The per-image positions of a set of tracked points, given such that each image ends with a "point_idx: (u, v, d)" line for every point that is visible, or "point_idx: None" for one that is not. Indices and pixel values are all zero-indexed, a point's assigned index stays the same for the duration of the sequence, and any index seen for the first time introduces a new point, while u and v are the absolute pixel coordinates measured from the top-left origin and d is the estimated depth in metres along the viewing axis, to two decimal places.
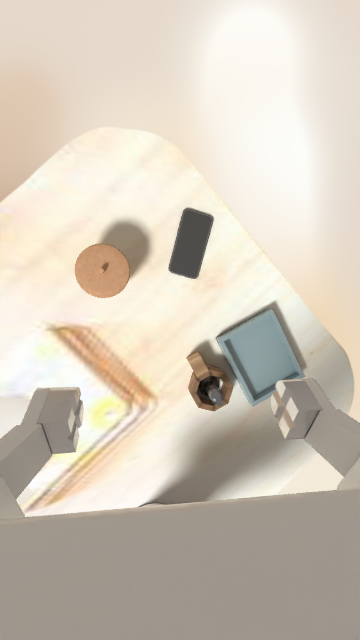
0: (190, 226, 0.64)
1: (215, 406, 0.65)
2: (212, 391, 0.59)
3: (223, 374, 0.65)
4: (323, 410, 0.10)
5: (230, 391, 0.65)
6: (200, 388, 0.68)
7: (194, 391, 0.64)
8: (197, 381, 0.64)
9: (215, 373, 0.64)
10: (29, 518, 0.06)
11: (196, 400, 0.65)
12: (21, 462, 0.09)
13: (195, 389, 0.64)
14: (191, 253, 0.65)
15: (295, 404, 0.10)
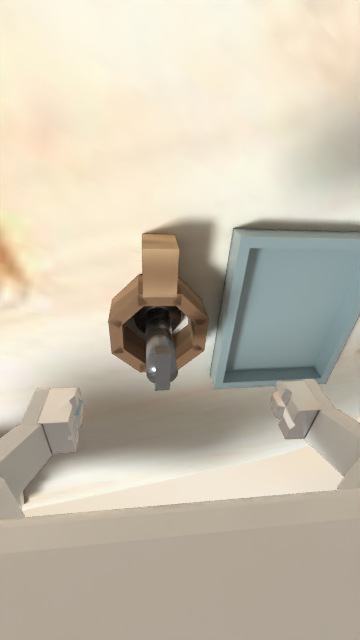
0: None
1: None
2: (160, 356, 0.21)
3: (202, 318, 0.27)
4: (323, 410, 0.10)
5: (194, 354, 0.29)
6: (137, 314, 0.29)
7: (119, 320, 0.26)
8: (137, 304, 0.25)
9: (187, 308, 0.26)
10: (29, 518, 0.06)
11: (114, 339, 0.27)
12: (21, 462, 0.09)
13: (124, 317, 0.26)
14: None
15: (295, 404, 0.10)
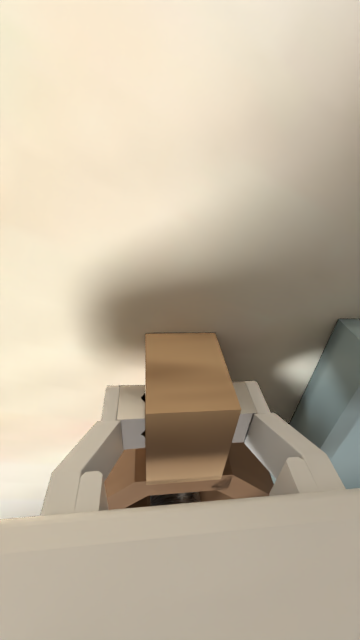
0: None
1: None
2: None
3: None
4: (257, 413, 0.10)
5: None
6: None
7: None
8: (134, 494, 0.11)
9: (240, 491, 0.12)
10: (29, 518, 0.06)
11: None
12: (104, 457, 0.09)
13: None
14: None
15: None
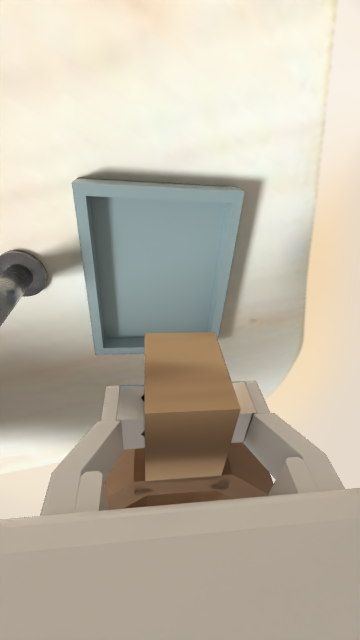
0: None
1: None
2: None
3: None
4: (257, 413, 0.10)
5: None
6: None
7: None
8: (133, 494, 0.11)
9: (240, 491, 0.12)
10: (29, 518, 0.06)
11: None
12: (104, 457, 0.09)
13: None
14: None
15: None
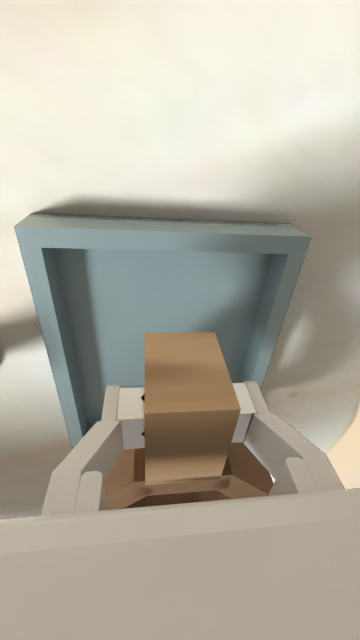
0: None
1: None
2: None
3: None
4: (257, 413, 0.10)
5: None
6: None
7: None
8: (133, 494, 0.11)
9: (240, 492, 0.12)
10: (28, 518, 0.06)
11: None
12: (104, 457, 0.09)
13: None
14: None
15: None
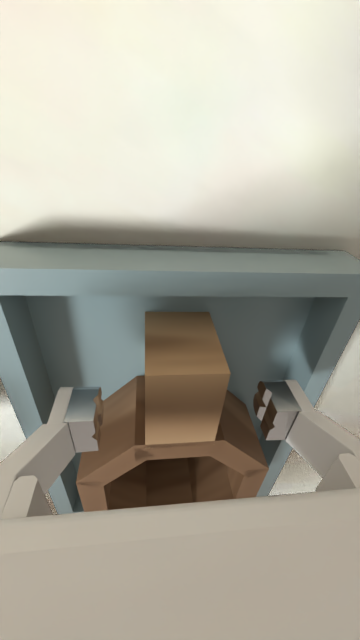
0: None
1: None
2: None
3: (258, 468, 0.14)
4: (302, 411, 0.10)
5: None
6: None
7: (98, 480, 0.13)
8: (134, 458, 0.12)
9: (232, 458, 0.13)
10: (29, 518, 0.06)
11: (90, 503, 0.14)
12: (49, 460, 0.09)
13: (107, 477, 0.13)
14: None
15: (274, 405, 0.10)
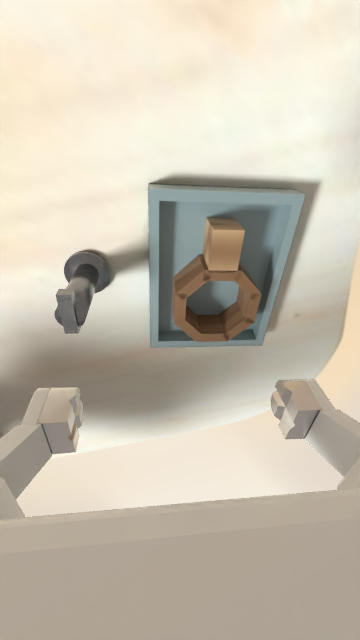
0: None
1: (203, 336, 0.33)
2: (61, 297, 0.23)
3: (256, 293, 0.30)
4: (323, 410, 0.10)
5: (245, 326, 0.33)
6: (67, 270, 0.31)
7: (185, 293, 0.29)
8: (203, 279, 0.29)
9: (244, 284, 0.29)
10: (28, 518, 0.06)
11: (178, 310, 0.31)
12: (21, 462, 0.09)
13: (189, 291, 0.29)
14: None
15: (295, 404, 0.10)
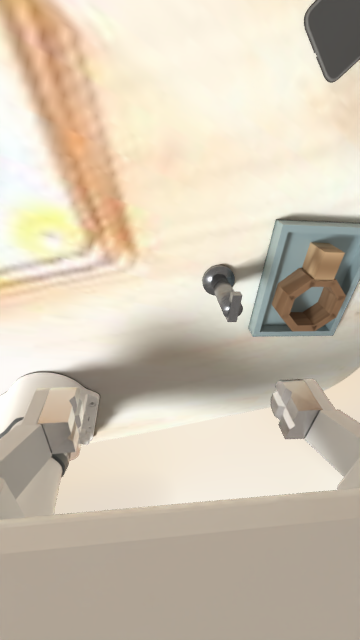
0: None
1: (299, 327, 0.45)
2: (235, 297, 0.35)
3: (343, 295, 0.42)
4: (323, 410, 0.10)
5: (329, 319, 0.45)
6: (205, 278, 0.43)
7: (294, 295, 0.42)
8: (309, 285, 0.41)
9: (336, 289, 0.42)
10: (29, 518, 0.06)
11: (286, 308, 0.43)
12: (21, 462, 0.09)
13: (298, 294, 0.41)
14: None
15: (295, 404, 0.10)
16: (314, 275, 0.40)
